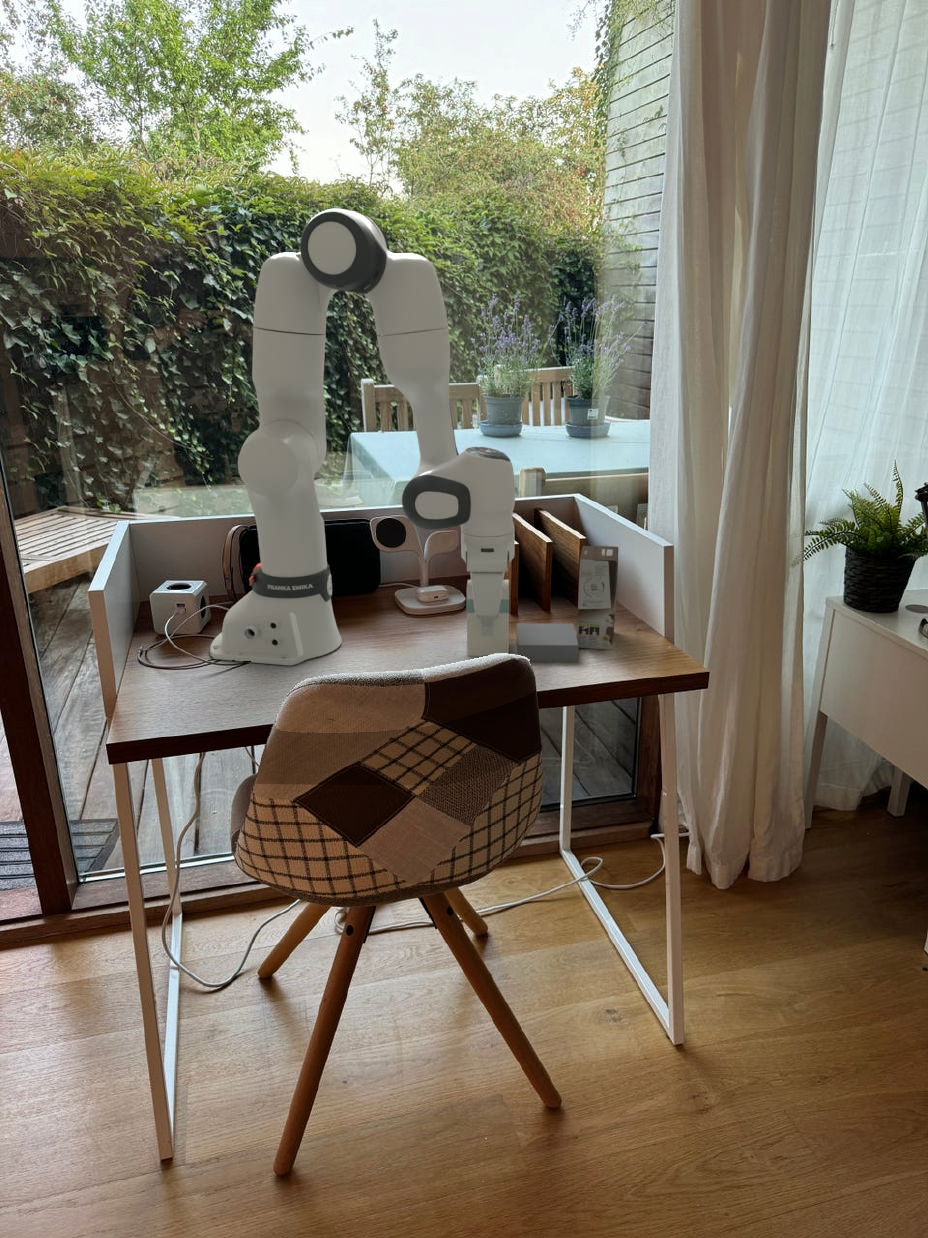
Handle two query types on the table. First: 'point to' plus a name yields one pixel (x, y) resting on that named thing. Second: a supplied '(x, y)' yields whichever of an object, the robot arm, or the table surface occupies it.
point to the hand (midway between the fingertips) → (487, 625)
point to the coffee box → (597, 597)
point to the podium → (547, 642)
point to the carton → (500, 637)
